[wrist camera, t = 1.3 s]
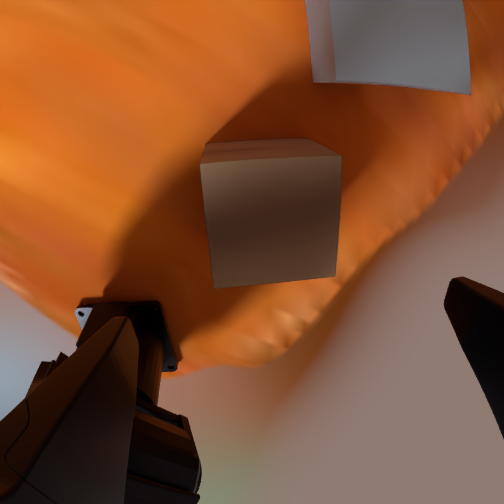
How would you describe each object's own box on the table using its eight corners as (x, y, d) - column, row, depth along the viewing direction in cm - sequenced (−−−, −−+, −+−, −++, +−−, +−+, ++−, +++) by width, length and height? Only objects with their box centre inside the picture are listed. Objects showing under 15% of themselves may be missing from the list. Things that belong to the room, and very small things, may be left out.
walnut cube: (306, 228, 19) (335, 276, 15) (214, 236, 19) (214, 288, 14) (306, 137, 17) (342, 156, 12) (205, 143, 16) (199, 163, 12)
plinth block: (430, 90, 16) (470, 95, 12) (311, 82, 16) (336, 80, 12) (418, -21, 12) (455, -35, 9) (298, -42, 12) (317, -70, 8)
